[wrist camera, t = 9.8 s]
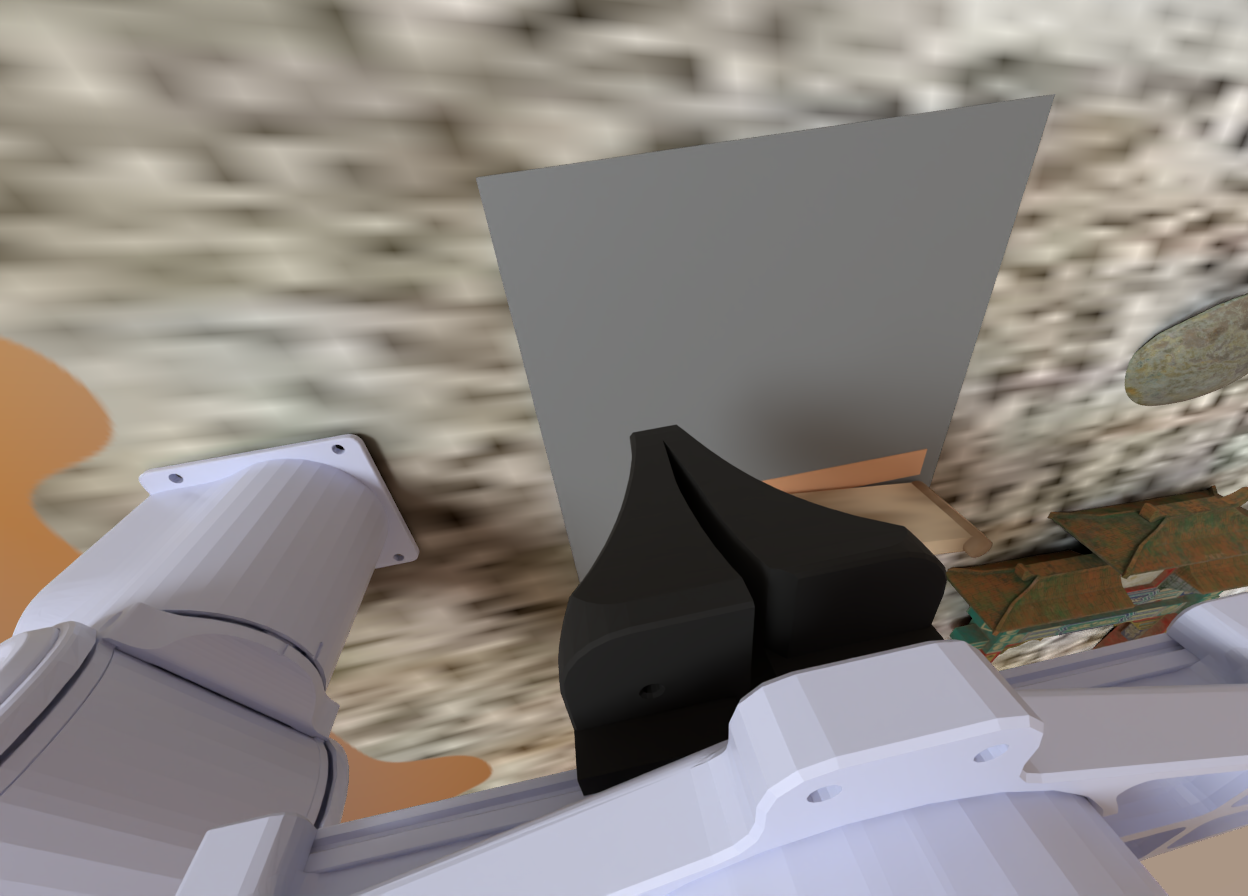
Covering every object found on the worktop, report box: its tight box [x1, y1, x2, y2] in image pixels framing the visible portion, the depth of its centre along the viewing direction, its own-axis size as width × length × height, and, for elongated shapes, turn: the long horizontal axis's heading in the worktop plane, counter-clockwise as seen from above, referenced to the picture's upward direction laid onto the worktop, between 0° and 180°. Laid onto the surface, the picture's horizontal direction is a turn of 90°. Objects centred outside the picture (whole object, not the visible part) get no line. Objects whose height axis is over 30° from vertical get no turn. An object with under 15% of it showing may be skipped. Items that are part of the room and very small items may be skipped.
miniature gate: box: [946, 486, 1248, 663], centre depth 38 cm, size 27×6×30 cm
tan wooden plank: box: [791, 481, 992, 558], centre depth 24 cm, size 12×1×5 cm, turn 89°
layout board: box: [476, 94, 1055, 583], centre depth 23 cm, size 22×32×6 cm
